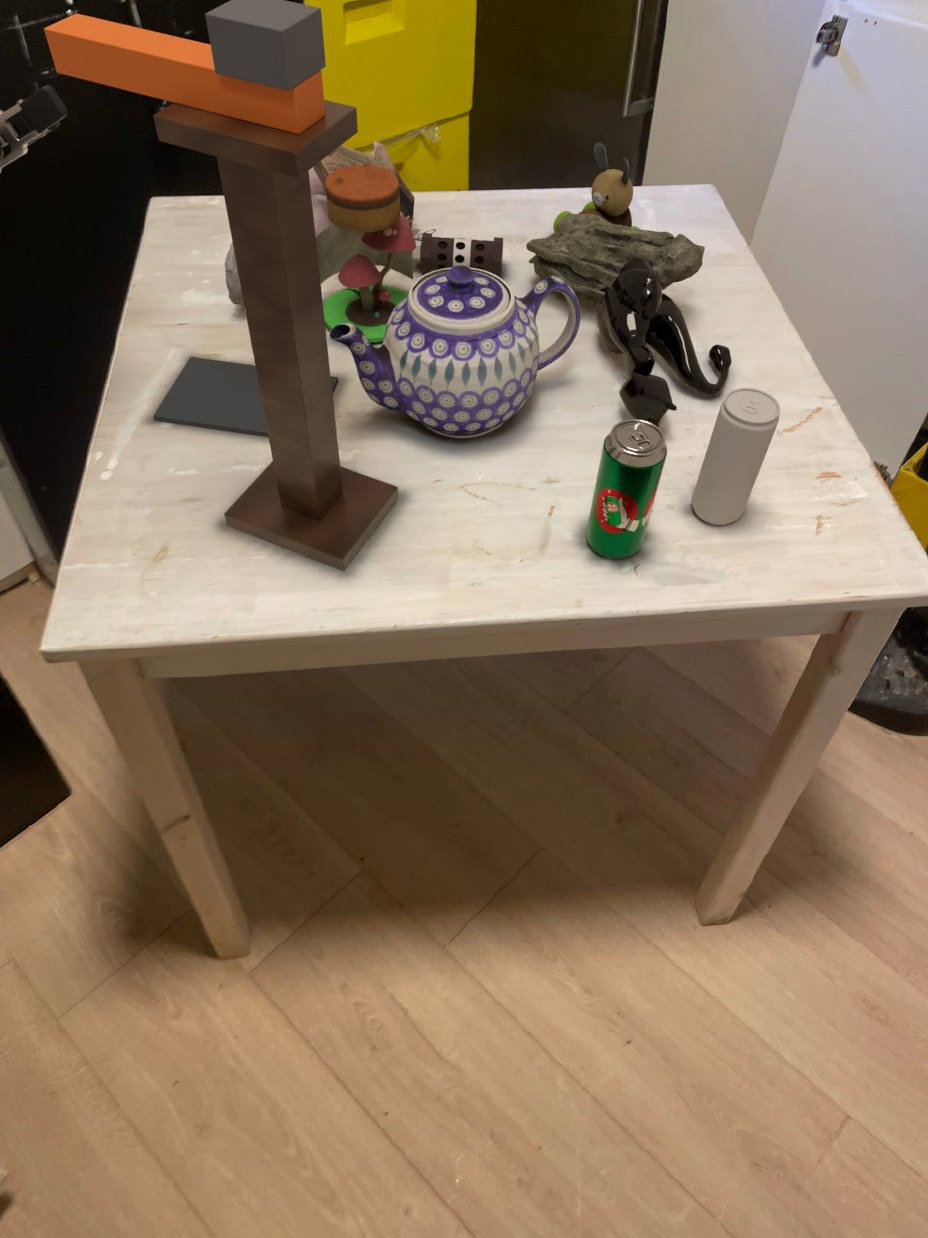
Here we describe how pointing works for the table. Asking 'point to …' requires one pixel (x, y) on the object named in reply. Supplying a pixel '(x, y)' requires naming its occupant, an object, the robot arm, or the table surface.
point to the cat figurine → (652, 342)
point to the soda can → (626, 488)
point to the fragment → (376, 158)
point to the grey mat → (217, 397)
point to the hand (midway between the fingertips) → (15, 121)
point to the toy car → (609, 193)
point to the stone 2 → (609, 254)
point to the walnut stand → (286, 330)
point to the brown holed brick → (458, 253)
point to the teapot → (459, 350)
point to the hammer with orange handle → (210, 61)
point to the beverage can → (735, 454)
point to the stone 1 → (233, 278)
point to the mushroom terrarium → (364, 247)
